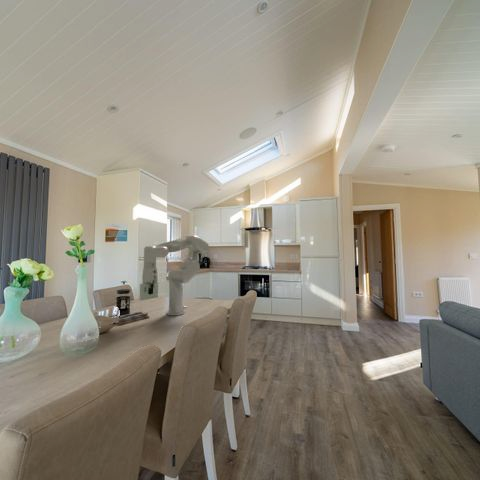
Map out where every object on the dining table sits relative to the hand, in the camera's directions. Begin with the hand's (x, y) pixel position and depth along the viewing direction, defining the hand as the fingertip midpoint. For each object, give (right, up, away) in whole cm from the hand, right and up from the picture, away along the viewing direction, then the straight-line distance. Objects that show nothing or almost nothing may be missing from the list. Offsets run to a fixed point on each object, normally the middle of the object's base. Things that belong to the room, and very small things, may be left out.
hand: (149, 293), depth 157 cm
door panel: (0, -3, 0) cm, 3 cm away
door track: (-12, -17, -1) cm, 21 cm away
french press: (-23, -18, +13) cm, 32 cm away
